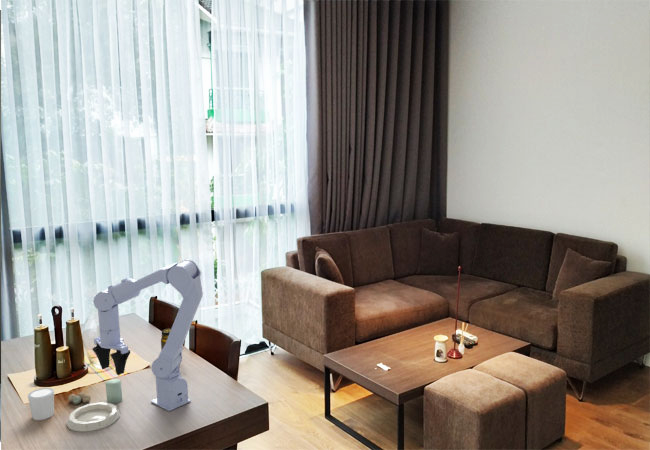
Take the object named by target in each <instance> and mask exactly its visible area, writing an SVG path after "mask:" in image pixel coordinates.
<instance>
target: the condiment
mask: <svg viewBox="0 0 650 450" xmlns="http://www.w3.org/2000/svg"><path fill="white" fill-rule="evenodd" d="M171 329H172V327H170V328H165V329H163V330H162V331H161V338H160V347H161V348H160V349H161V351H162V349H163V347H164V346H165V344H166V341H167V339H168V336H169V334H170V331H171ZM161 351H160V352H161Z"/></svg>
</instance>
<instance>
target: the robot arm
mask: <svg viewBox="0 0 650 450" xmlns="http://www.w3.org/2000/svg"><path fill="white" fill-rule="evenodd" d="M201 275H202V272H201V269H200V268H199V266H198V265H197V263H196V262H195V261H194V260H191V259H184V260H182V261H180V262H178V261H177V262H174V263H171V264H169V265H167V266H166V265H165V266H163V267H161V268H159V269H157V270H155V271H154V272H151V273H149V274H146V275H145V276H143V277H141V278H138V279H134V278H130V277H129V278H127V277H125V278H123V279H121V281H120V282H119V283H116V284H115V285H113V284H111V285H108V286H107V288H105V289H103V290H102V291H99V292H98V293H97V294H95V296H94V298H93V300H92V301H93V305H94V308H96V310H97V313H98V328H99V336H97V337H94V338H93V343H94V345H95V346H93V347H92V352H94V355H96V357H97V359H98V362H99V365H100V368H101V370H105V369H109V368H110V357H111V359H112V361H113V363H114V368H115V375H117V376H120V375H122V374H124V373H125V370H126V369H125V368H126V364H127V361H128V358H129V356H130V354H131V350H130V349H129V345H127V344H125V343H124V338H122V337H121V327H120V315H119V314H120V312H119V305H121V304H122V303H125V302H127V301H129V300H132V299H134V298H136V297H139V295H140V294H141V291H142V290H144V289H146V288H149V287H152V286H153V285H156V284H158V283H161V282H162V283H164V284H165V285H169V284H170V286H172V287H173V288H174V289H175V290H176V291H177V292H178V293H179V294H180V295H181V297H182V301H181V303H180V306H179V308H178V311H177V314H176V317H175V319H174V322H173V324H172V326H171V328H172V329H171V331H170V334H169V336H168V339H167V341H166V344H165V346H164V347H163V349H162V351H160V352H159V353H158V354H159V355H158V357H157V358H156V359H155V360H153V362H152V364H151V367H150V368H151V371H152V374H153V375H154V376H155V387H156V388H155V389H156V398H154V399H151V400H150V402H151V403H152V404H154V405H156V406H158V407H161V408H162V409H164V410H166V411H168V412H170V411H173V410H176V409H177V408H179V407H181V406H183V405H186V404H188V403H190V402H191V401H192V399H190V398H189V391H188V390H189V388H188V382H187V380H186V379H185V378H183V376H182V374H181V369H180V364H181V363H182V361H183V354H182V353H183V350H184V347H183V346H184V343H185V341H186V338H187V335H188V333H189V331H190V328H191V326H192V323H193V321H194V318H195V316H196V313H197V311H198V308H199V305H200V303H201V301H202V299H203V296H204V295H203V293H204V292H203V287H202V281H201ZM111 350H114V351H115V352H112V353H111Z"/></svg>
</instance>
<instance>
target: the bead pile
mask: <svg viewBox="0 0 650 450" xmlns="http://www.w3.org/2000/svg"><path fill="white" fill-rule="evenodd" d="M67 400H68V402H70V403H73V404H74V405H79V404H81V401H82V402H83V403H86V404H88V403H89V402H90V401H91V395H90V394H86V393H85V392H79V393H78V394H77V395H76V394H75V393H71V394H69V396H68V398H67Z"/></svg>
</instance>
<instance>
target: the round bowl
mask: <svg viewBox="0 0 650 450" xmlns="http://www.w3.org/2000/svg"><path fill="white" fill-rule="evenodd" d="M120 413H121V412H120V410H119V408H117V405H115V404H111V403H107V402H103V401H100V402H99V401H98V402H94V403H86V404H85V405H82V406H81V407H80V406H79V407H77V408H76V409H74V410H73V411H72V412H71V413H69V418H68V419H67V420H66V425H67V427H68V429H69V430H71V431H74V432H79V433H80V432H81V433H87V432H89V433H90V432H94V431H98V430H102V429H105V428H108V427H109V426H112V425H113V424H114V423H116V422H118V421H119V419H120V415H121V414H120Z"/></svg>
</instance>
